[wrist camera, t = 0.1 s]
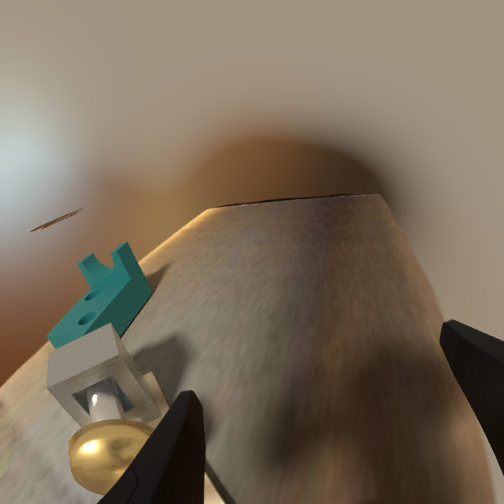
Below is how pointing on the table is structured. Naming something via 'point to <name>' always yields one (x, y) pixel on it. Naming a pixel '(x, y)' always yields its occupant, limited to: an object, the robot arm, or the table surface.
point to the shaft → (105, 440)
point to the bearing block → (99, 376)
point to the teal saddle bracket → (105, 297)
